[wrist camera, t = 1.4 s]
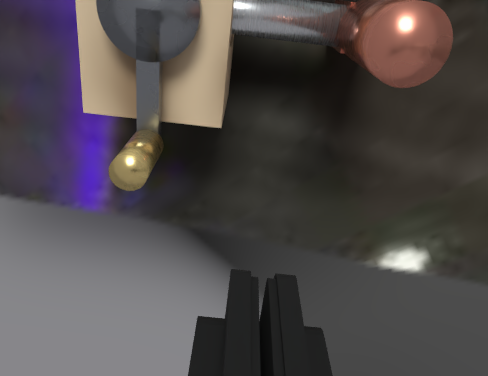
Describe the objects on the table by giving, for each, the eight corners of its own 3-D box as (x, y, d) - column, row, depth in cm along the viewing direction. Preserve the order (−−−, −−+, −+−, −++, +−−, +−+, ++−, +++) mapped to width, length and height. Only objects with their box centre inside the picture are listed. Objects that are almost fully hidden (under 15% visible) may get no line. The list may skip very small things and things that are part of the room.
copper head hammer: (383, -1, 27) (465, 6, 17) (369, 54, 28) (436, 92, 18) (103, -37, 26) (7, -53, 16) (105, 22, 28) (19, 42, 18)
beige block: (246, -94, 25) (244, -127, 18) (228, 95, 30) (221, 128, 23) (118, -111, 25) (64, -151, 18) (123, 83, 30) (83, 112, 23)
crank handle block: (205, -43, 19) (190, -52, 15) (193, 157, 24) (179, 196, 19) (100, -56, 19) (54, -69, 15) (109, 147, 24) (75, 185, 19)
